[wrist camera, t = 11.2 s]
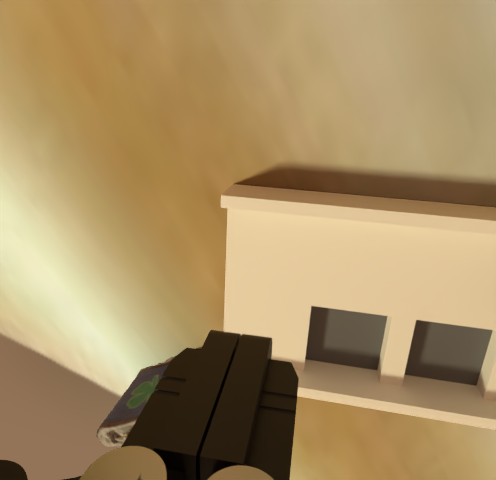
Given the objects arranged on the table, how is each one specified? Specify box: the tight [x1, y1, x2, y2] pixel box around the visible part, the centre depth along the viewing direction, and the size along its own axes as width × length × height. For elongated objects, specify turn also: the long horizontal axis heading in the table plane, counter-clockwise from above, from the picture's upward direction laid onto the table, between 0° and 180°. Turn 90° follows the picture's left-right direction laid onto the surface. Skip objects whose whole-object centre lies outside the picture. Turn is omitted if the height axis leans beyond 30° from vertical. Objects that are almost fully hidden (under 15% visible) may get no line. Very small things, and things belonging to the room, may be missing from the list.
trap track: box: [221, 184, 496, 430], centre depth 34 cm, size 18×32×4 cm, turn 87°
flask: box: [97, 356, 176, 447], centre depth 39 cm, size 9×3×11 cm, turn 119°
